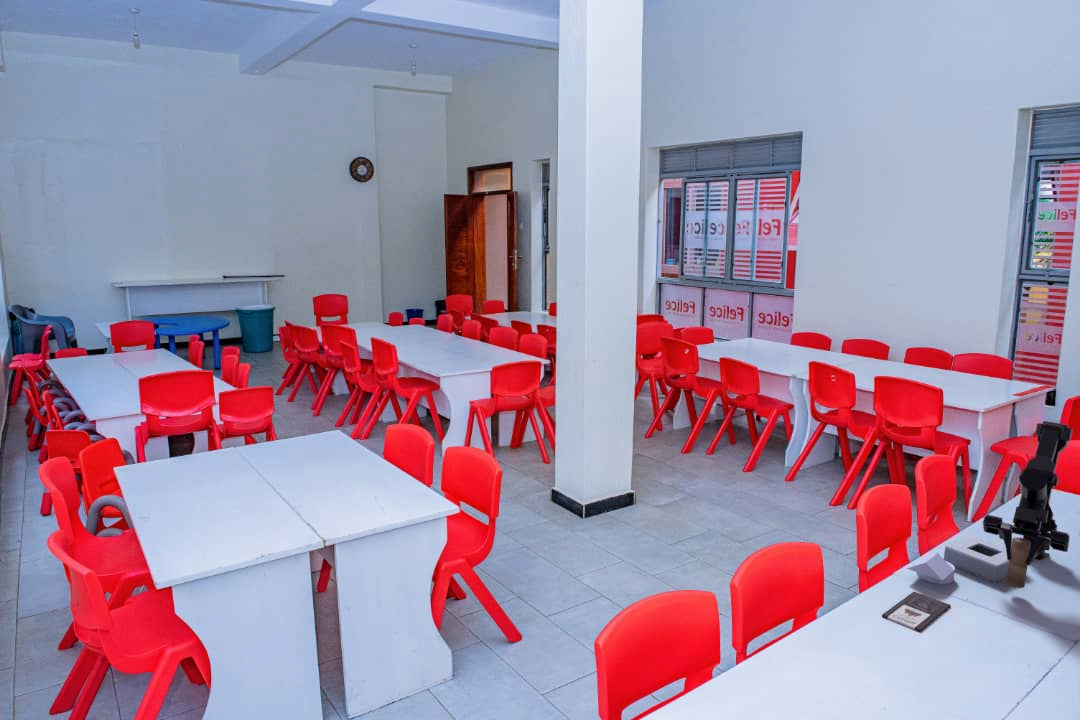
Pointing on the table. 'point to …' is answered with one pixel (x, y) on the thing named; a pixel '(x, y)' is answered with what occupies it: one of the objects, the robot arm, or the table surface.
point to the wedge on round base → (934, 569)
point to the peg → (1018, 562)
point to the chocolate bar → (916, 611)
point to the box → (978, 558)
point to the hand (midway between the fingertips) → (1017, 562)
